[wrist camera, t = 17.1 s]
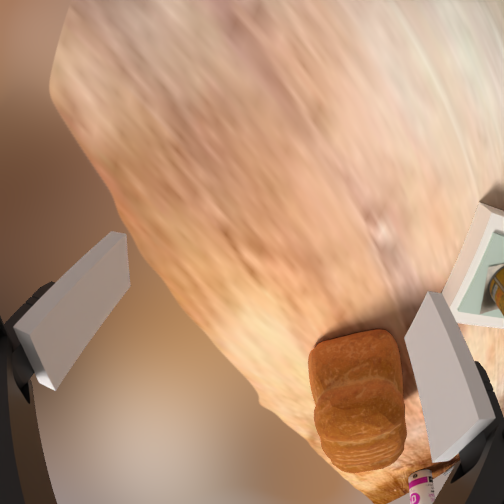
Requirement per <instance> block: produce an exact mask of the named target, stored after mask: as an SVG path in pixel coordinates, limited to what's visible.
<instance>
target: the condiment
mask: <svg viewBox="0 0 504 504" xmlns="http://www.w3.org/2000/svg"><path fill="white" fill-rule="evenodd" d="M497 309H499V310H500V311H501V313H502V314H503V316H504V264H499V265H497V266H491V267H488V271H487V276H486V282H485V288H484V295H483V299H482V304H481V310H480V314H483V313H486V312H489V311H493V310H497Z"/></svg>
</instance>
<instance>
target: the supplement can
mask: <svg viewBox="0 0 504 504" xmlns="http://www.w3.org/2000/svg"><path fill="white" fill-rule="evenodd" d="M408 479H409V490H410V502H411V504H433V502H434V500H435V496H434V488H433V480H432V472H431V471H430V470H428V469H425V470H420V471H417V472H414V473H412V474H411V475H410V476H409V478H408Z"/></svg>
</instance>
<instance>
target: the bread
mask: <svg viewBox="0 0 504 504" xmlns="http://www.w3.org/2000/svg"><path fill="white" fill-rule="evenodd" d="M308 366H309V379H310V385H311V391H312V395H313V398H314V401H315V404H316V407H315V410H314V421H315V426H316V429H317V432H318V434H319V436H320V440H321V446H322V449H323V451H324V452H325V454H326V455H327V456H328V457H329V458H330V459H331V461H332V463H333V464H334V465H335V466H336V467H337V468H339V469H340V470H341V471H344V472H349V473H359V472H365V471H371V470H377V469H383V468H385V467H387V466H389V465H391V464H392V463H394V462H395V461H396V460H397V459H398V458H399V456H400V455H401V454H402V452H403V450H404V442H405V439H406V436H407V430H406V423H405V404H404V401H403V379H402V368H401V360H400V354H399V350H398V346H397V343H396V341H395V339H394V338H393V336H392V335H391V334H390V333H389V332H387V331H386V330H382V329H375V330H370V331H364V332H359V333H355V334H351V335H347V336H343V337H339V338H335V339H331V340H327V341H323V342H321V343H319V344H318V345H317V346H316V347H315V348H314V349H313V350H312V351H311V352H310V355H309V359H308Z"/></svg>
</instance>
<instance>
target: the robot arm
mask: <svg viewBox="0 0 504 504" xmlns="http://www.w3.org/2000/svg"><path fill="white" fill-rule="evenodd" d="M129 287H130V276H129V266H128V252H127V236H126V234H123V233H119V232H113V231H111V232H110V233H109V234H108V235H107V236H105V238H103V239H102V240H101V241H100V242H99V243H98V244H96V246H94V247H93V248H92V249H91V250H90V251H89V252H88V253H86V254H85V255H84V256H83V257H82V258H81V259H80V260H79V261H78V262H77V263H76V264H75V265H74V266H72V267H71V268H70V269H69V270H68V271H67V272H66V273H65V274H64V275H63V276H62V277H61V278H60V279H59V280H58V281H57V282H56V283H55V282H52V281H51V282H50V283H48V284H46V285H44V286H42V287H40V288H39V289H38V290H37V291H36V292H35V293H34V294H33V296H32V297H30V298H29V299H28V300H27V301H26V303H25V304H23V305H22V306H21V307H20V308H19V309H18V310H17V311H16V312H15V313H14V314H13V315H12V316H11V317H10V319H9V320H8V321H7V322H6V323H5V324H3V321H2V319H1V316H0V504H57V502H56V499H55V495H54V492H53V489H52V485H51V482H50V478H49V474H48V471H47V466H46V462H45V458H44V453H43V449H42V444H41V439H40V434H39V429H38V423H37V417H36V410H35V403H34V395H33V387H32V382H31V380H30V378H31V376H32V375H33V373H35V375H36V377H37V379H38V381H39V383H41V384H43V385H45V386H47V387H49V388H51V389H53V390H55V391H56V389H57V388H58V386H59V385H60V383H61V382H62V380H63V379H64V377H65V376H66V374H67V373H68V371H69V370H70V368H71V367H72V365H73V364H74V362H75V361H76V359H77V358H78V357H79V355H80V354H81V352H82V351H83V350H84V348H85V347H86V345H87V344H88V342H89V341H90V340H91V338H92V337H93V336H94V334H95V333H96V331H97V330H98V328H99V327H100V326H101V325H102V323H103V322H104V320H105V319H106V318H107V316H108V315H109V314H110V312H111V311H112V310H113V308H114V307H115V306H116V304H117V303H118V302H119V300H120V299H121V298H122V296H123V295H124V294H125V293H126V291H127V290H128V289H129ZM404 339H405V343H406V346H407V350H408V353H409V357H410V361H411V364H412V368H413V372H414V376H415V380H416V384H417V388H418V392H419V397H420V401H421V405H422V410H423V415H424V419H425V424H426V429H427V434H428V440H429V445H430V451H431V457H432V463H433V462H443V461H449V460H451V459H452V458H453V457H454V456H456V455H457V454H458V453H459V456H460V460H459V461H458V462H457V463H455V464H454V465H453V466H452V467H450V468H449V469H448V470H446V472H445V473H444V475H446V474H448V473H449V472H451V473H450V475H449V477H448V479H447V480H446V482H445V484H444V486H443V487H442V489H441V491H440V492H439V494H438V496H437V497H436V499H435V500H434V502H433V504H504V417H503V414H502V411H501V409H500V406H499V403H498V400H497V398H496V395H495V393H494V392H493V388H492V385H491V383H490V380H489V378H488V375H487V373H486V371H485V369H484V368H483V367H482V366H481V364H480V363H479V362H478V361H474V360H473V357H472V355H471V353H470V350H469V348H468V346H467V344H466V341H465V339H464V337H463V335H462V333H461V331H460V329H459V326H458V324H457V322H456V320H455V318H454V316H453V314H452V312H451V310H450V308H449V306H448V304H447V302H446V300H445V298H444V297H443V295H442V293H436V292H431V291H428V292H427V294H426V296H425V298H424V300H423V302H422V304H421V306H420V308H419V310H418V312H417V314H416V316H415V318H414V320H413V322H412V324H411V326H410V328H409V330H408V332H407V334H406V335H405V337H404Z"/></svg>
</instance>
